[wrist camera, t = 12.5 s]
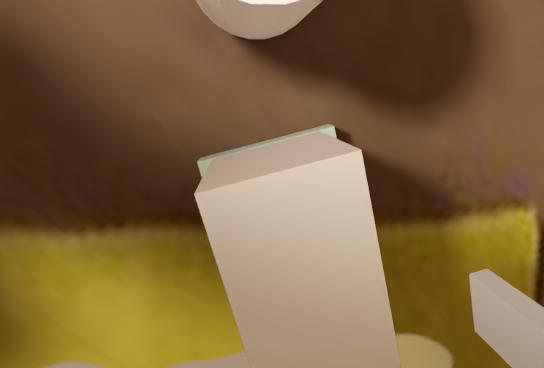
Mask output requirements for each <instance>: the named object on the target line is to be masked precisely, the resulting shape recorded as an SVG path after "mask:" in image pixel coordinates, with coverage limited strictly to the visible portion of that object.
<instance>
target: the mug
mask: <svg viewBox="0 0 544 368" xmlns="http://www.w3.org/2000/svg"><path fill="white" fill-rule="evenodd" d="M195 1H196V2H197V3H198V5H199V6H200V8H201V9H202V11H203V12H204V13H205V14H206V15H207V16H208V17H209V18H210V19H211V20H212V21H213V23H214V24H215V25H217V26H218V27H220V28H222V29H223V30H225V31H227V32H228V33H230V34H231V35H235V36H238V37H242V38H245V39H268V38H271V37H275V36H278V35H281V34H283V33H285V32H286V31H288V30H289V29H291V28H293V27H294V26H296V25H297V24H298V23H299V22H300V21H301V20H302V19H303V18H304V17H305V16H306V15H308V14H309V13H310V12H311V11H312V10H313V9H314V8H315V7H316V6H317V5H318V4H320V3H321V2H322V1H323V0H195Z"/></svg>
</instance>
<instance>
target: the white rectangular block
mask: <svg viewBox="0 0 544 368" xmlns="http://www.w3.org/2000/svg"><path fill="white" fill-rule="evenodd" d="M194 196H195V199H196V202H197V205H198V208H199V211H200V214H201V217H202V220H203V223H204V226H205V229H206V232H207V235H208V238H209V241H210V244H211V247H212V250H213V254H214V257H215V260H216V263H217V266H218V269H219V272H220V275H221V278H222V281H223V284H224V287H225V290H226V293H227V296H228V299H229V302H230V305H231V308H232V312H233V315H234V318H235V321H236V324H237V327H238V330H239V333H240V336H241V339H242V342H243V345H244V348H245V351H246V354H247V357H248V360H249V363H250V366H251V368H401V364H400V358H399V353H398V347H397V342H396V336H395V331H394V325H393V320H392V314H391V309H390V303H389V298H388V292H387V287H386V282H385V276H384V271H383V265H382V260H381V254H380V249H379V243H378V238H377V232H376V227H375V222H374V216H373V211H372V205H371V200H370V194H369V189H368V183H367V178H366V172H365V167H364V161H363V156H362V151H361V149H359V148H356V147H354V146H352V145H350V144H347V143H345V142H343V141H341V140H338V139H336V138H334V137H331V136H329V135H327V134H325V133H322V132H320V131H317V132H313V133H309V134H305V135H302V136H298V137H294V138H290V139H286V140H283V141H279V142H275V143H271V144H267V145H264V146H260V147H256V148H252V149H248V150H245V151H241V152H237V153H233V154H230V155H226V156H222V157H218V158H214V159H212V160H211V162H210V164H209V166H208V168H207V170H206V172H205V174H204V175H203V177H202V179H201V181H200V183H199V185H198V187H197V189H196V191H195V193H194Z"/></svg>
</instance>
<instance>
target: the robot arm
mask: <svg viewBox="0 0 544 368" xmlns="http://www.w3.org/2000/svg"><path fill="white" fill-rule="evenodd" d="M469 279H470V289H471V300H472V310H473V320H474V331H475V332H476V333H477V334H478V335H479V336H480V337H481V338H482V339H483V340H484V341H485V342H486V343H487V344H488V345H489V346H490V347H491V348H492V349H493V350H494V351H495V352H496V353H497V354H498V355H500V356H501V357H502V358H503V359H504V360H505V361H506V362H507V363H508V364H509V365H510V366H511V367H512V368H544V307H542V306H541V305H539V304H538V303H536V302H535V301H534V300H532V299H531V298H529V297H528V296H526V295H525V294H523V293H522V292H521V291H519V290H518V289H516V288H515V287H513V286H512V285H510V284H509V283H508V282H506V281H505V280H503V279H502V278H500V277H499V276H497V275H496V274H495V273H493V272H492V271H490V270H489V269H484V270H480V271H477V272H474V273H470V274H469Z"/></svg>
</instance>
